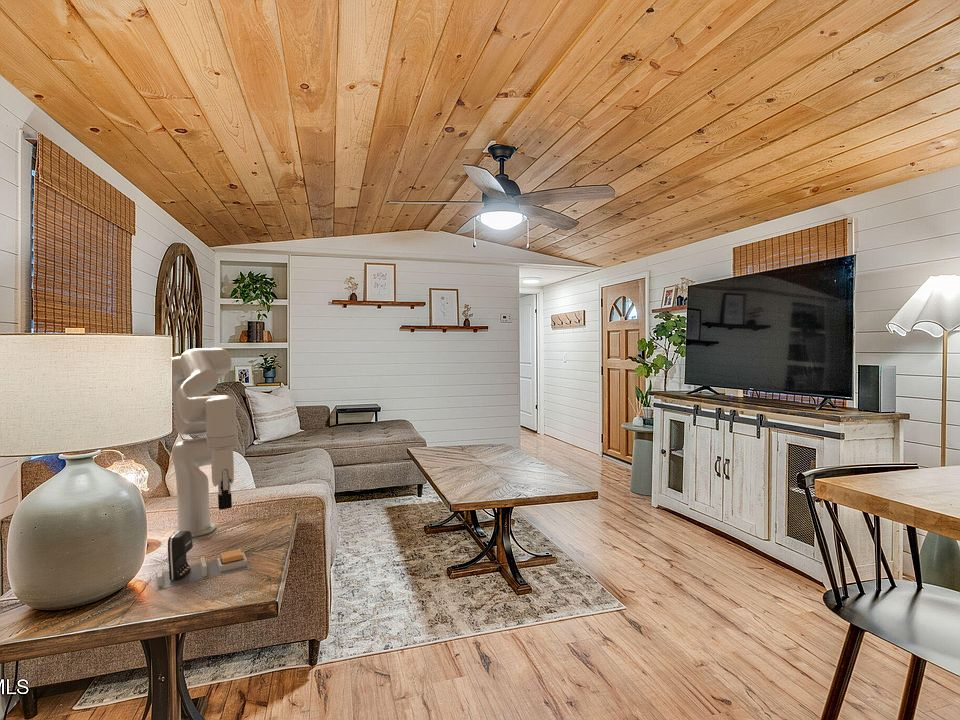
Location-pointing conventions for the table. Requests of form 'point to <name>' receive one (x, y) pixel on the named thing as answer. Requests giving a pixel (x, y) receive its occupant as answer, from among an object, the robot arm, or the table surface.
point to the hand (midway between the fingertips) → (225, 508)
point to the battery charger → (179, 554)
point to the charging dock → (202, 572)
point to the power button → (231, 555)
